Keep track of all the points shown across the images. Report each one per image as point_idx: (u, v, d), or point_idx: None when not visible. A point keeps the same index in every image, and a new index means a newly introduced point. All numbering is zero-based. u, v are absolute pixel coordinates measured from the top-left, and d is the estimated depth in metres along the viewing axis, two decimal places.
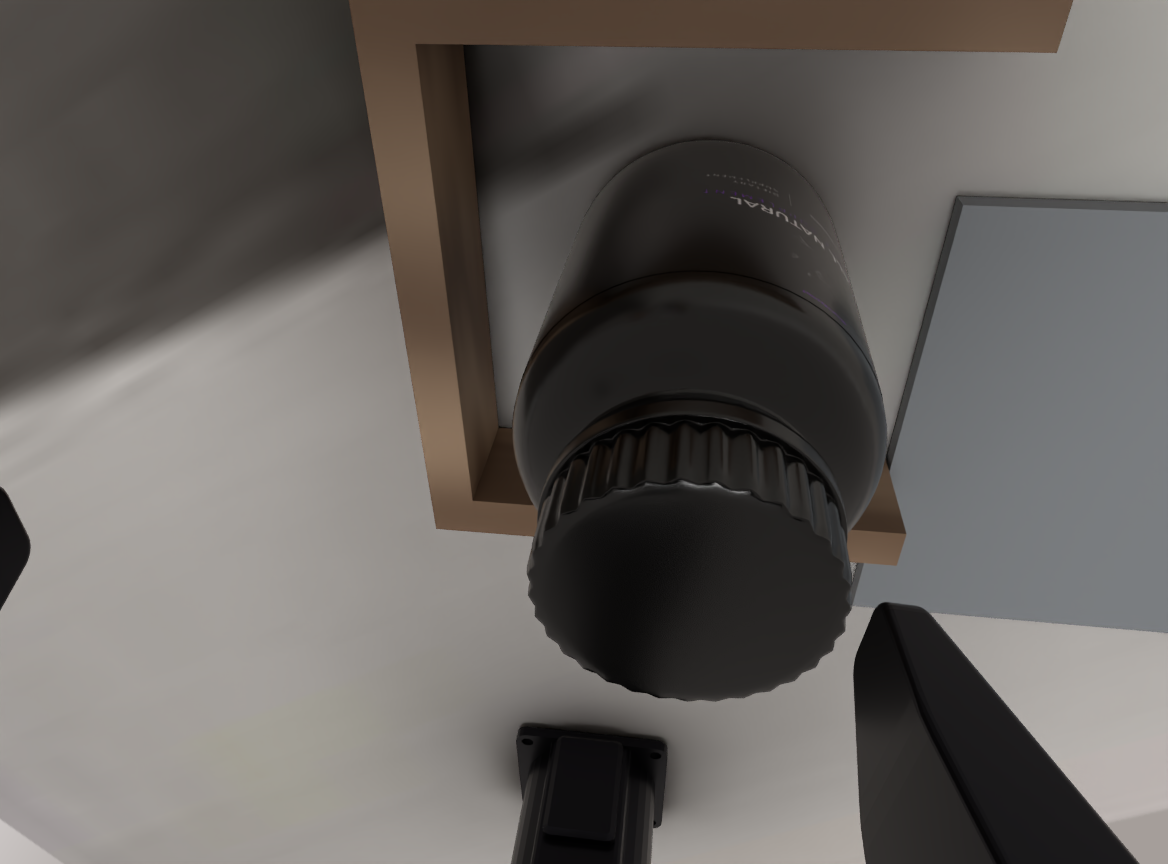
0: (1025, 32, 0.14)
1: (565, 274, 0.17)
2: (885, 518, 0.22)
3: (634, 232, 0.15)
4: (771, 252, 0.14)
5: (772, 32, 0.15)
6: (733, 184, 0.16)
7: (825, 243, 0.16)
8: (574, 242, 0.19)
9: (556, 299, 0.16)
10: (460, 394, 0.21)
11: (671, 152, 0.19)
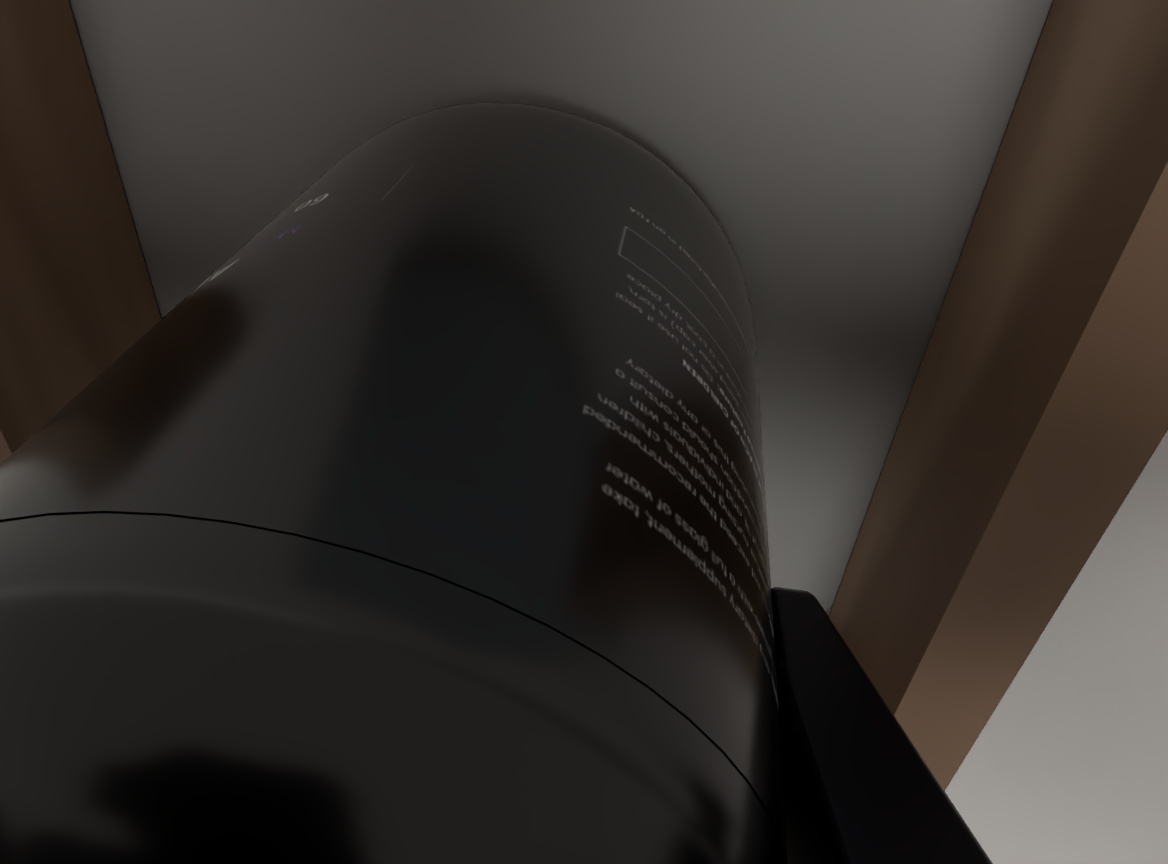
0: None
1: None
2: None
3: None
4: None
5: None
6: None
7: None
8: None
9: None
10: None
11: None
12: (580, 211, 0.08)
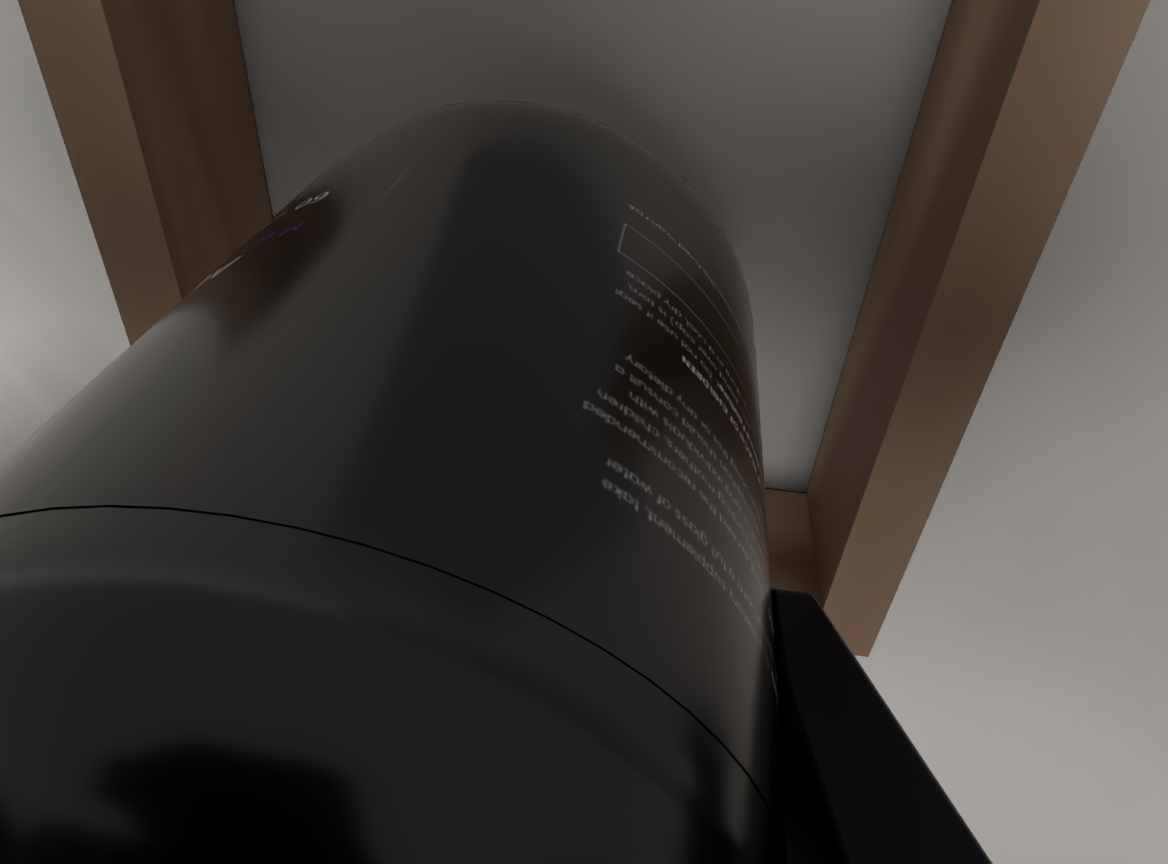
0: None
1: None
2: None
3: None
4: None
5: (142, 216, 0.13)
6: None
7: None
8: None
9: None
10: None
11: None
12: (579, 208, 0.08)
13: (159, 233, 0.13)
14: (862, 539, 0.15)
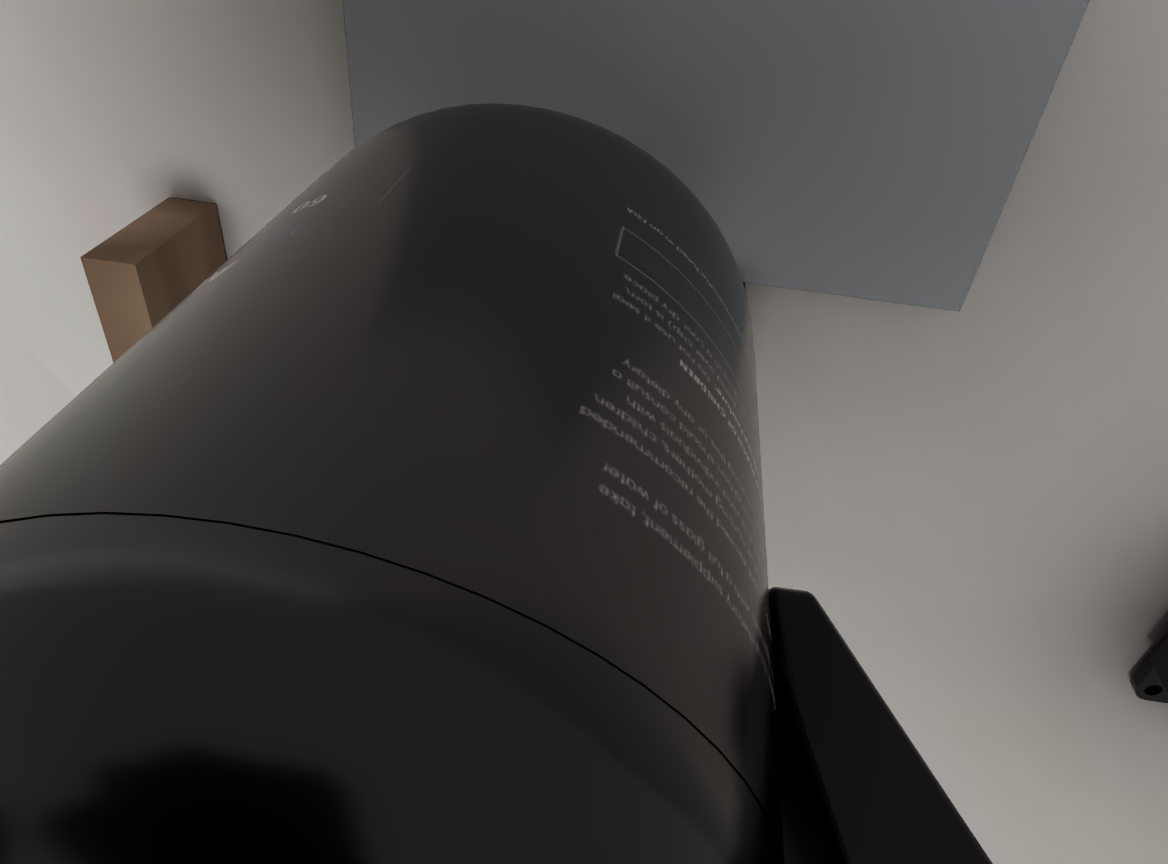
0: (128, 289, 0.17)
1: None
2: None
3: None
4: None
5: None
6: None
7: None
8: None
9: None
10: None
11: None
12: (576, 212, 0.08)
13: None
14: None
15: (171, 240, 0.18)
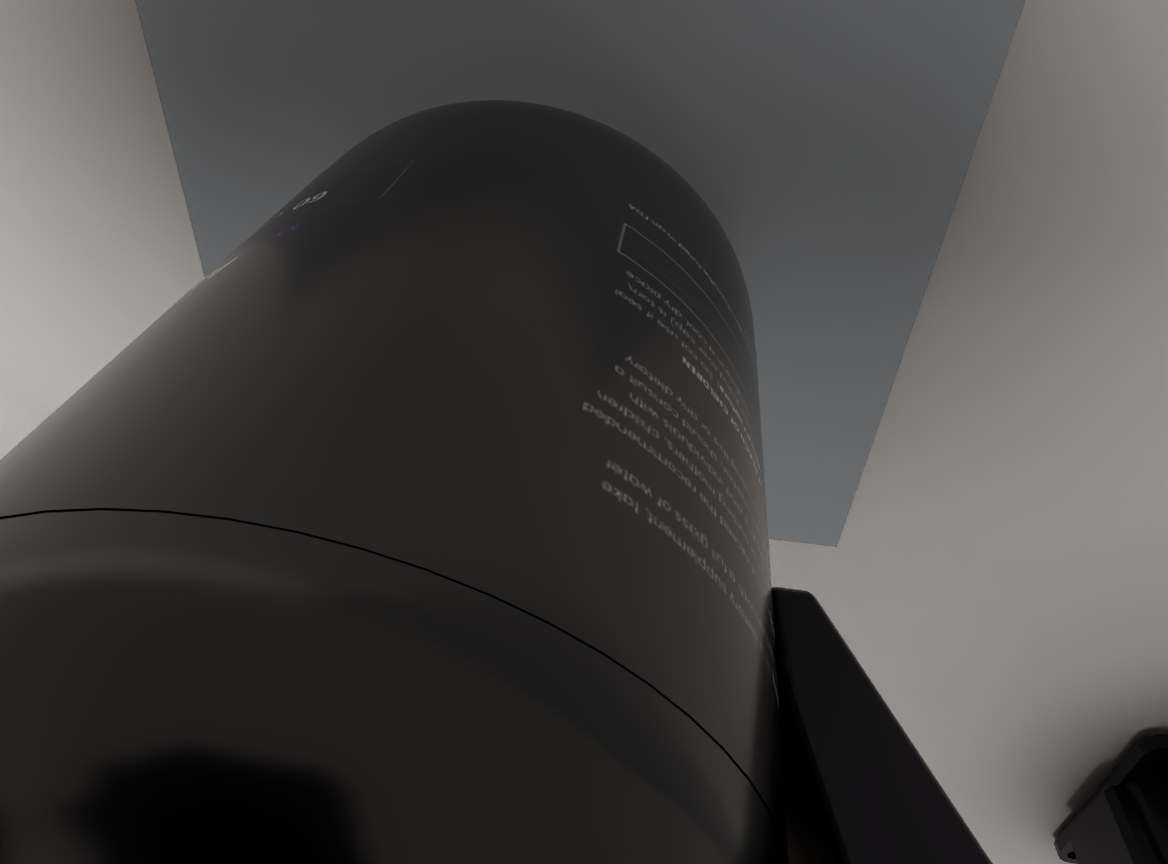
0: None
1: None
2: None
3: None
4: None
5: None
6: None
7: None
8: None
9: None
10: None
11: None
12: (578, 208, 0.08)
13: None
14: None
15: None
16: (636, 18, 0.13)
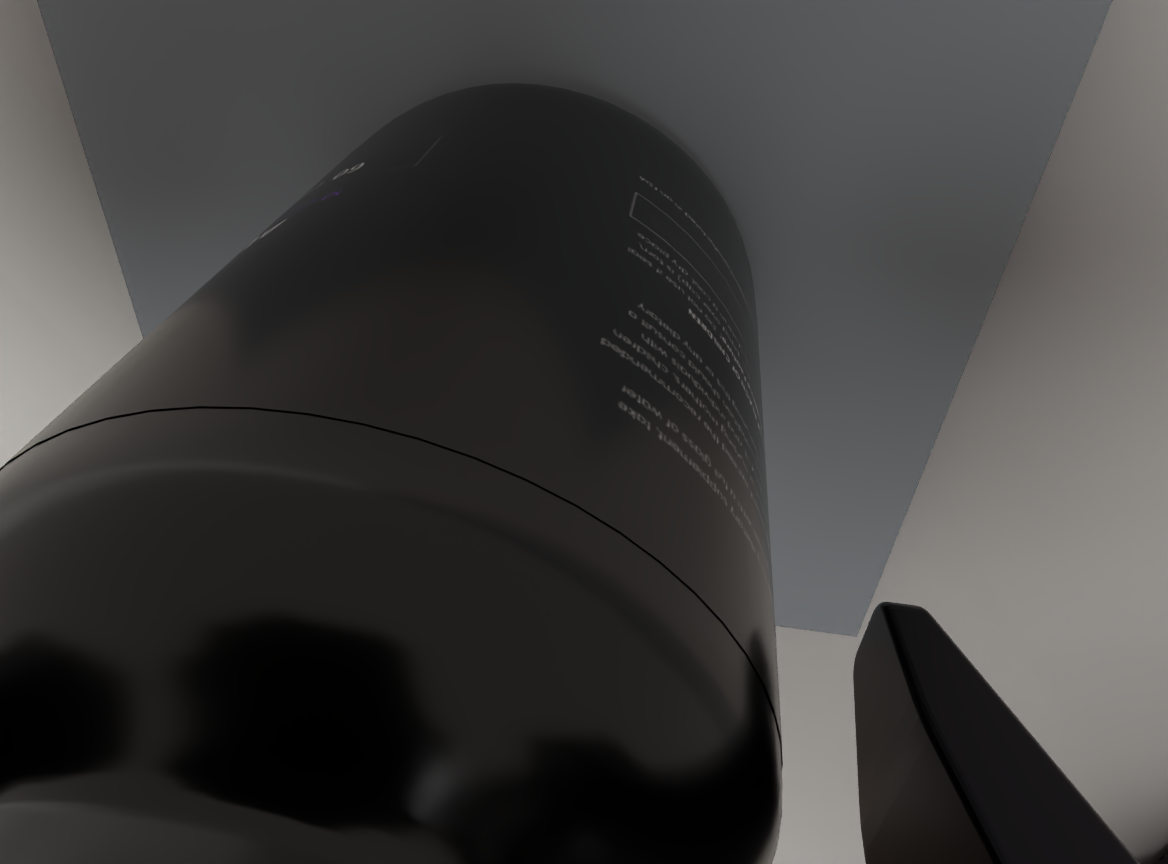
0: None
1: None
2: None
3: None
4: None
5: None
6: None
7: None
8: None
9: None
10: None
11: None
12: (594, 178, 0.08)
13: None
14: None
15: None
16: (631, 61, 0.11)
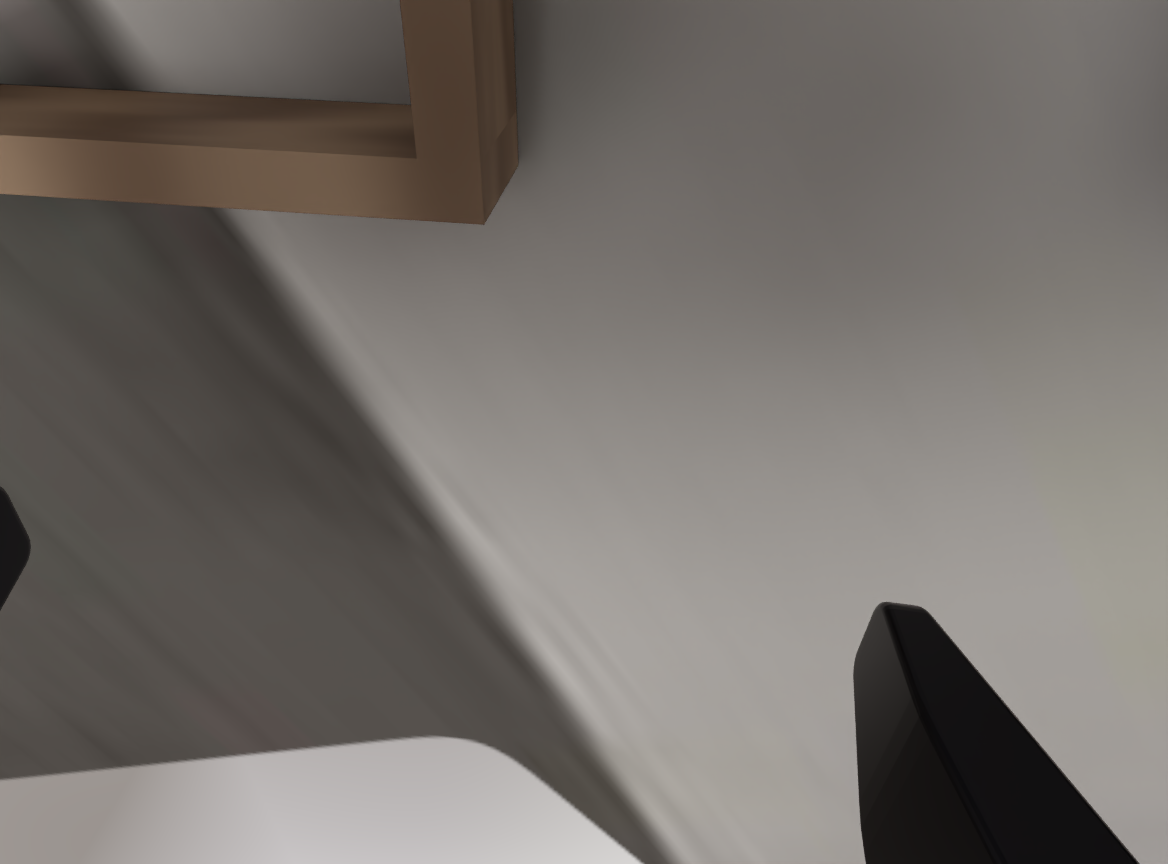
0: None
1: None
2: None
3: None
4: None
5: None
6: None
7: None
8: None
9: None
10: (236, 146, 0.15)
11: None
12: None
13: None
14: (419, 43, 0.14)
15: None
16: None
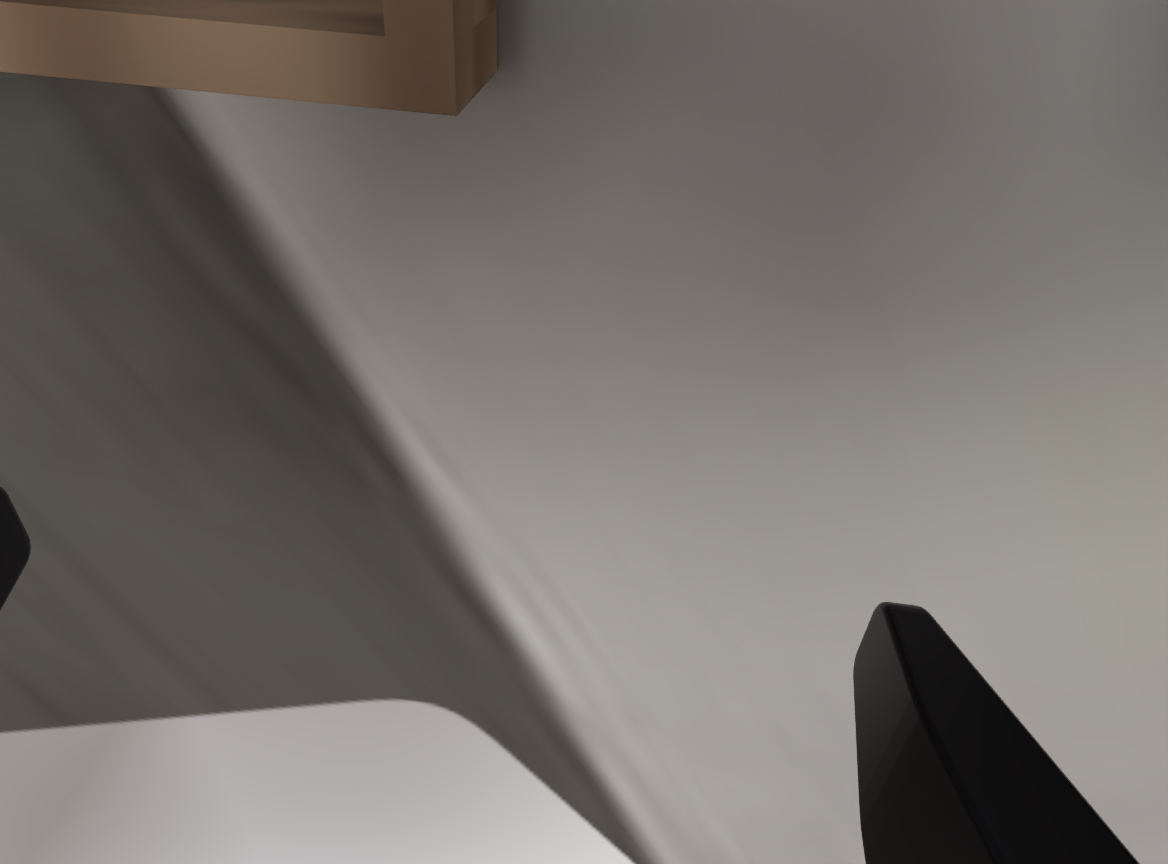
0: None
1: None
2: None
3: None
4: None
5: None
6: None
7: None
8: None
9: None
10: (188, 17, 0.14)
11: None
12: None
13: None
14: None
15: None
16: None
